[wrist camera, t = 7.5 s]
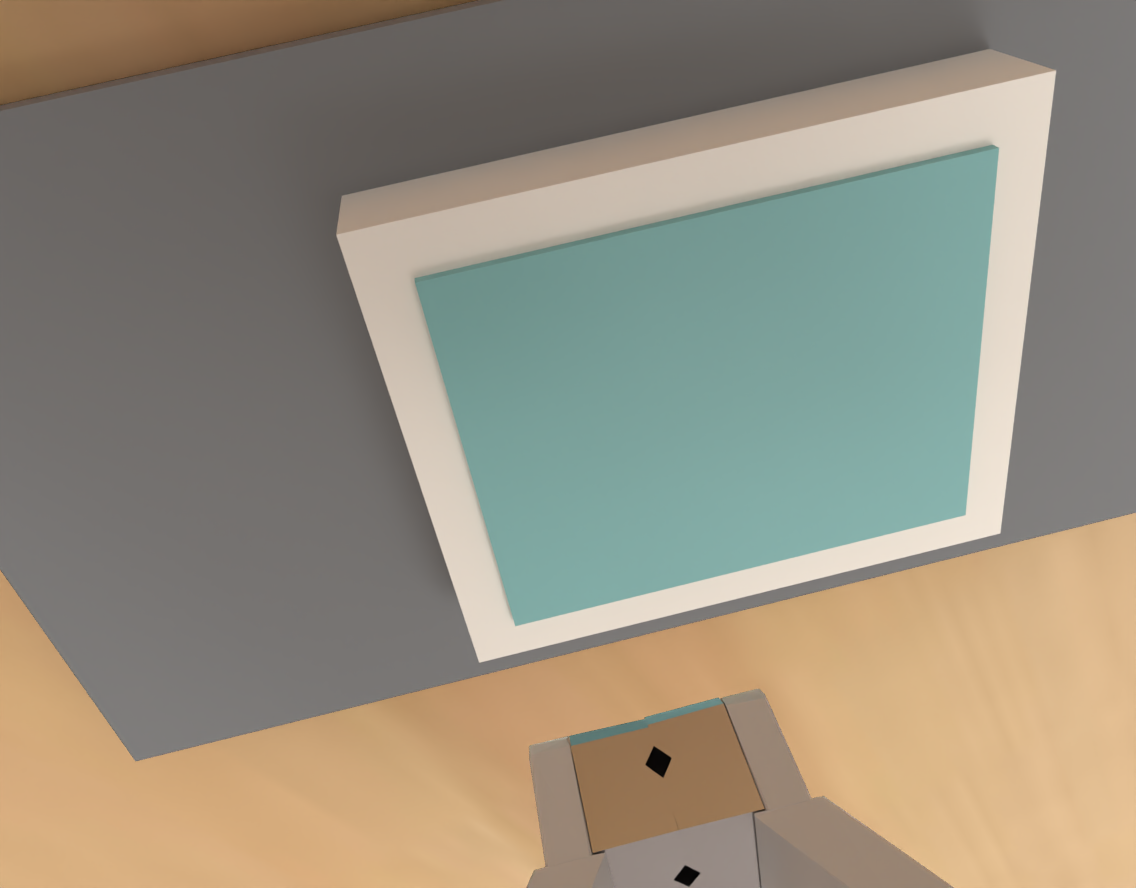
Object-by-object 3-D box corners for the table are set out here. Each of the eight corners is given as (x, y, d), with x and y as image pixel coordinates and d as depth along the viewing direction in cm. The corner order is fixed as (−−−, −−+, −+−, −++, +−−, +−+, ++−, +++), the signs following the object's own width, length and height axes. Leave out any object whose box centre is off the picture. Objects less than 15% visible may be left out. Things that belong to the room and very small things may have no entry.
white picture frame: (335, 239, 14) (1063, 73, 15) (341, 195, 16) (990, 49, 17) (479, 669, 20) (1004, 539, 20) (472, 600, 22) (954, 482, 22)
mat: (-258, 161, 15) (-281, 173, 14) (1461, -216, 16) (1495, -218, 16) (141, 741, 23) (135, 761, 23) (1252, 466, 24) (1270, 479, 24)
